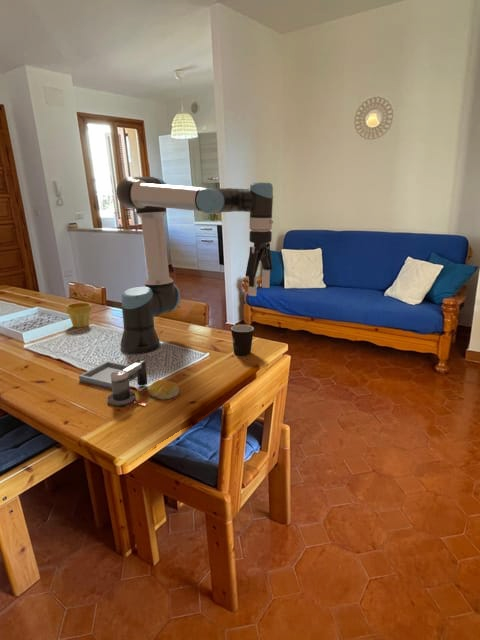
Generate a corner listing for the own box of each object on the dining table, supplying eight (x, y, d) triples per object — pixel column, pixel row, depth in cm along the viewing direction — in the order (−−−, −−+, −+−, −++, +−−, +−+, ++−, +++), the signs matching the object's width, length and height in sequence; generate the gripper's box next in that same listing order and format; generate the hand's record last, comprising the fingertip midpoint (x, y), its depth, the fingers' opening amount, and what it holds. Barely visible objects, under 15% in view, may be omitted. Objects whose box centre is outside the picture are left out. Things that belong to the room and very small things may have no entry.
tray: (79, 381, 135) (78, 375, 134) (108, 366, 147) (107, 360, 146) (112, 389, 130) (111, 383, 129) (139, 372, 141) (138, 367, 141)
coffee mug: (251, 357, 155) (251, 332, 152) (228, 356, 156) (228, 331, 153) (256, 347, 166) (256, 323, 163) (235, 345, 167) (235, 321, 164)
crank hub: (102, 403, 121) (99, 382, 119) (120, 391, 128) (118, 371, 126) (136, 412, 116) (135, 390, 114) (153, 399, 123) (152, 379, 121)
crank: (122, 402, 120) (120, 378, 117) (109, 398, 122) (107, 375, 119) (151, 382, 132) (150, 361, 130) (138, 379, 134) (137, 358, 132)
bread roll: (162, 385, 133) (161, 373, 132) (183, 392, 128) (183, 380, 127) (143, 395, 126) (142, 383, 125) (165, 403, 122) (164, 390, 121)
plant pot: (84, 320, 198) (81, 301, 195) (97, 324, 192) (95, 304, 189) (64, 326, 190) (61, 305, 187) (77, 330, 184) (75, 309, 181)
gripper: (258, 234, 128) (256, 300, 134) (282, 228, 150) (279, 285, 156) (235, 233, 130) (235, 298, 137) (262, 227, 152) (261, 283, 159)
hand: (259, 291), depth 146 cm, fingers open, 13 cm apart
